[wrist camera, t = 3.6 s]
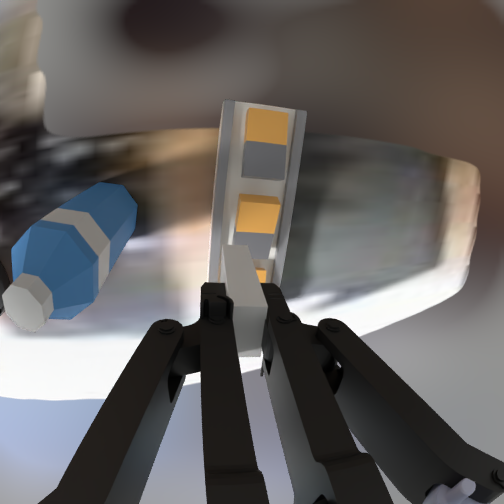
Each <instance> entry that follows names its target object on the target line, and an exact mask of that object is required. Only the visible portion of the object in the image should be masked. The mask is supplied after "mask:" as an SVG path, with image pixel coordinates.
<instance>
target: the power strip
mask: <svg viewBox="0 0 504 504" xmlns="http://www.w3.org/2000/svg"><path fill="white" fill-rule="evenodd" d="M249 107H250V108H258V109H265V110H272V111H279V112H285V113H288V131H287V148H286V164H285V179H284V180H282V181H273V180H263V179H253V178H242V177H241V171H242V158H243V146H244V133H245V121H246V112H247V110H248V109H249ZM306 117H307V111H304V110H299V109H297V110H294V109H288V108H282V107H276V106H269V105H261V104H254V103H246V102H237V101H235V100H226V99H225V101H224V102H223V103H222V112H221V121H220V129H219V138H218V148H217V157H216V167H215V178H214V189H213V200H212V212H211V225H210V239H209V253H208V269H207V282H214V283H220V274H221V257H222V244H223V245H232V240H233V233H234V226H235V219H236V212H237V205H238V199H239V194H252V195H264V196H275V197H278V199H279V202H280V204H281V206H280V211H279V215H278V219H277V224H276V228H275V232H274V237H273V241H272V245H271V249H270V254H269V258H268V259H252V260H253V263H254V266H255V268H264V269H265V270H266V281H265V283H274V284H276V285H277V286H278V287H279V288H280V284H281V278H282V273H283V267H284V261H285V256H286V250H287V244H288V238H289V232H290V226H291V219H292V213H293V207H294V200H295V194H296V187H297V181H298V174H299V167H300V160H301V153H302V146H303V139H304V132H305V124H306Z"/></svg>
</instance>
